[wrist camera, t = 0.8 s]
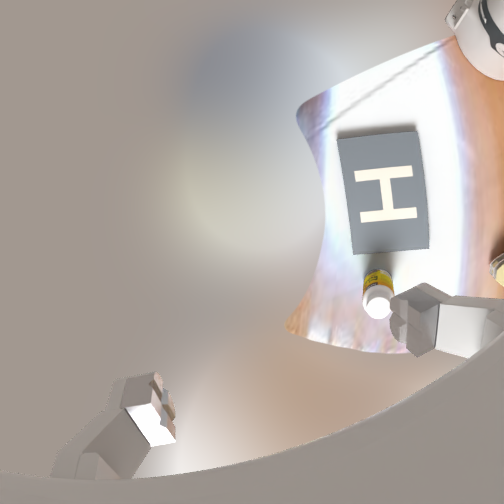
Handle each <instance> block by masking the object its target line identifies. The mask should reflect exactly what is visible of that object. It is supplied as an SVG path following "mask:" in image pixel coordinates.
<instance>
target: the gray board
mask: <svg viewBox="0 0 504 504" xmlns="http://www.w3.org/2000/svg"><path fill="white" fill-rule="evenodd" d="M337 144H338V150H339V155H340V161H341V167H342V173H343V179H344V185H345V192H346V199H347V206H348V213H349V221H350V229H351V238H352V248H353V255H356V254H369V253H381V252H394V251H406V250H417V249H429V229H428V212H427V199H426V189H425V179H424V171H423V164H422V157H421V150H420V144H419V138H418V133H417V131H412V132H399V133H389V134H379V135H370V136H361V137H353V138H345V139H338V140H337Z"/></svg>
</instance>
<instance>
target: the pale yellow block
mask: <svg viewBox="0 0 504 504" xmlns="http://www.w3.org/2000/svg"><path fill="white" fill-rule="evenodd" d="M489 272H490V274H491V275H492V276H493V277H494V279H496V281H497V282H498V283H499V284H501V285H502V286H503V287H504V253H503V254H501V255H500V256H498V257H497V258H495V259H494V260H493V261H492V262H491V263H490V271H489Z"/></svg>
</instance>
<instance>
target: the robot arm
mask: <svg viewBox="0 0 504 504" xmlns="http://www.w3.org/2000/svg"><path fill="white" fill-rule="evenodd" d="M452 16H453V17H455V18H456V19H454V18H453V17H452ZM445 21H446V23H447V25H448V26H449V27H450V29H451V30H452V31H453V32H454V34H455V36H456V39H457V42H458V44H459V46H460V48H461V50H462V52H463V54H464V55H465V57H466V58H467V59H468V60H469V62H470V63H471V64H472V65H473V66H474V67H475V68H476V69H477V70H479V71H480V72H481V73H483V74H484V75H486V76H488V77H490V78H493V79H496V80H504V0H457V1H456V3H455V4H454V5H453V7H452V9H451V10H450V12H449V13H448V15H447V16H446V18H445ZM390 310H391V311H392V312H393V314H392V316H391V318H390V329H391V332H392V334H393V336H394V337H395V339H396V340H397V341H399V342H401V343H406V348H407V349H408V350H409V351H410V352H411V353H413V354H414V355H415V356H416V357H419V356H421V355H423V354H425V353H427V352H428V351H430V350H432V349H434V348H435V349H437V350H441V351H444V352H448V353H451V354H455V355H458V356H462V357H465V358H468V359H467V360H465V361H464V362H463V363H461V364H460V365H458V366H457V367H455V368H454V369H452V370H451V371H449V372H448V373H447V374H445V375H443V376H442V377H440V378H439V379H437V380H435V381H434V382H432V383H431V384H429V385H427V386H426V387H424V388H422V389H421V390H419V391H417V392H415V393H414V394H412V395H410V396H409V397H407V398H405V399H403V400H401V401H399V402H397V403H396V404H394V405H392V406H390V407H388V408H386V409H384V410H382V411H380V412H378V413H376V414H374V415H372V416H370V417H368V418H366V419H363V420H361V421H359V422H357V423H355V424H352V425H350V426H348V427H345V428H343V429H341V430H338V431H336V432H333V433H331V434H328V435H326V436H323V437H321V438H318V439H316V440H313V441H310V442H307V443H304V444H302V445H299V446H296V447H293V448H290V449H287V450H283V451H280V452H277V453H274V454H271V455H267V456H263V457H260V458H256V459H253V460H248V461H244V462H240V463H236V464H232V465H227V466H223V467H219V468H213V469H208V470H202V471H196V472H190V473H184V474H176V475H169V476H161V477H150V478H137V479H132V477H133V476H134V474H135V472H136V471H137V469H138V468H139V466H140V465H141V463H142V461H143V460H144V458H145V457H146V455H147V454H148V452H149V450H150V449H151V446H154V445H160V444H166V443H171V442H175V426H174V424H173V422H172V421H173V420H174V418H175V407H174V403H173V400H172V398H171V395H170V393H169V392H168V391H167V390H166V389H164V388H163V380H162V378H161V376H160V374H159V373H158V372H152V373H146V374H141V375H135V376H130V377H124V378H119V379H115V380H114V382H113V385H112V388H111V392H110V395H109V399H108V402H107V406H106V409H105V411H101V412H100V413H99V414H98V415H97V416H96V417H95V418H94V419H92V421H90V422H89V423H88V424H87V425H86V426H85V427H84V428H83V429H82V430H81V431H80V432H79V433H78V434H76V435H75V436H74V437H73V438H72V439H71V440H70V441H69V442H68V443H67V444H66V445H65V446H64V447H63V448H62V449H60V450H59V451H58V453H57V456H56V459H55V462H54V466H53V468H52V472H51V475H50V477H41V476H32V475H25V474H19V473H13V472H7V471H2V470H0V504H504V299H495V298H481V297H467V296H453V297H451V296H450V295H448V294H446V293H444V292H442V291H440V290H438V289H436V288H435V287H433V286H431V285H429V284H427V283H421V284H419V285H417V286H415V287H413V288H412V289H409V290H407V291H405V292H403V293H401V294H398V295H396V296H394V297H392V298H391V299H390Z"/></svg>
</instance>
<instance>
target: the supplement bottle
mask: <svg viewBox="0 0 504 504" xmlns="http://www.w3.org/2000/svg"><path fill="white" fill-rule="evenodd" d="M392 297H394V289H393V282H392V278H391V276H390V274H389V273H388V272H386V271H384V270H381V269H375V270H372V271H371V272H369V273H368V274H367V275H366V277H365V279H364V285H363V298H362V303H363V307H364V309H365V310H366V311H367V312H368V314H369V315H370V316H371V317H373V318H375V319H381V318H384V317H386V316H387V315H388V314H389V312H390V311H391V310H390V299H391V298H392Z"/></svg>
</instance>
